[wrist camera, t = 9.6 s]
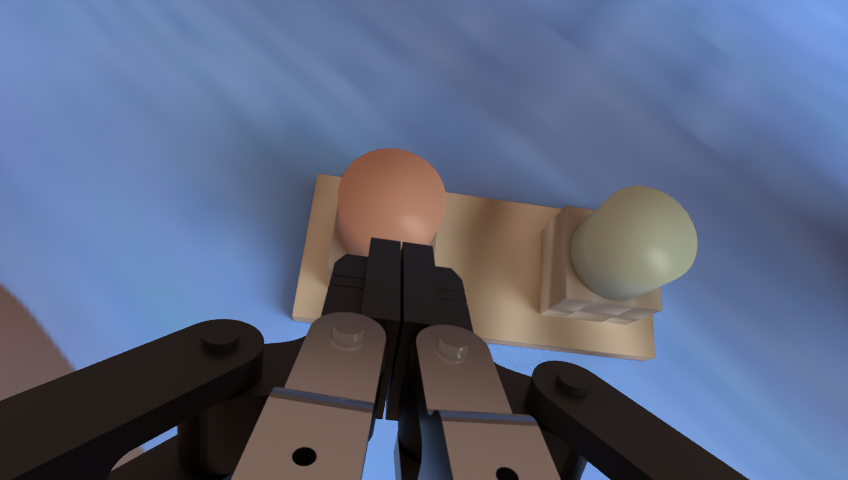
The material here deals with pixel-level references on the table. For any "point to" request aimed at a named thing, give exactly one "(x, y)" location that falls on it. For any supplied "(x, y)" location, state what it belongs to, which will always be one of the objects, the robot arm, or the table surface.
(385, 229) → the brown rounded piece
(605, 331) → the button board
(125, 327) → the table surface
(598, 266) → the pale green rounded knob
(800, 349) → the table surface
